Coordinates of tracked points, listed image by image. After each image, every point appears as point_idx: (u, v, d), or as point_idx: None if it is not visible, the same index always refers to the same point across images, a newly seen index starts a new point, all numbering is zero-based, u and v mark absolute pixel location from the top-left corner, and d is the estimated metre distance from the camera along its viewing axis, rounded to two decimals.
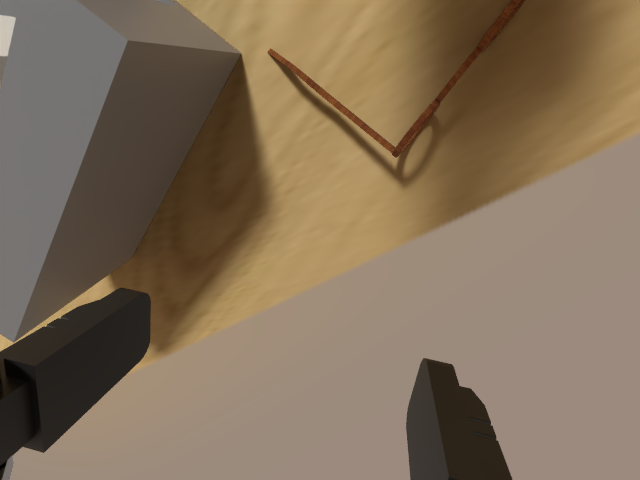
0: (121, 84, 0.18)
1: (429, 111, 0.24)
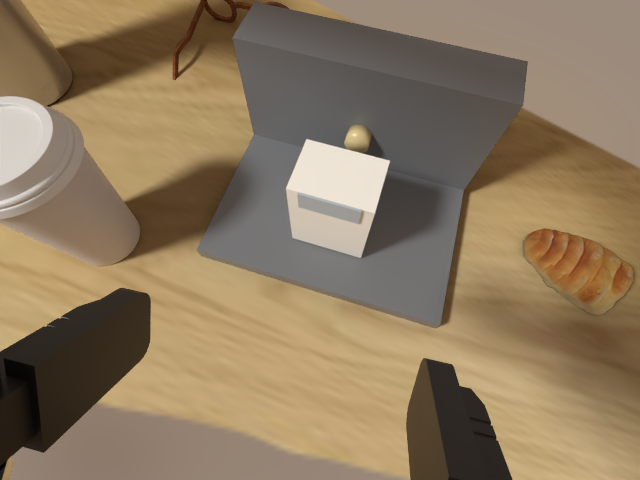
0: None
1: (265, 3, 0.47)
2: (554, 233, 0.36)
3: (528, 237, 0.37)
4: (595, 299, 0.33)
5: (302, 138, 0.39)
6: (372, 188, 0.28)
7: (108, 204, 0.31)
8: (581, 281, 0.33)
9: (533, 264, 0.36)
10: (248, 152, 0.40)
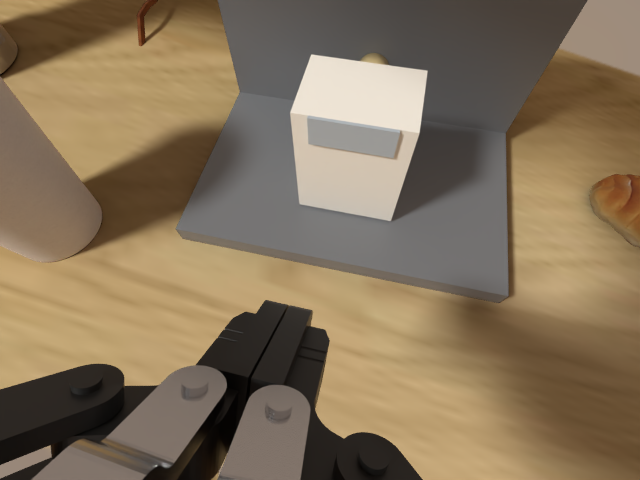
0: None
1: None
2: (630, 177, 0.28)
3: (597, 187, 0.29)
4: None
5: None
6: (410, 103, 0.20)
7: (47, 166, 0.23)
8: None
9: (611, 219, 0.28)
10: (234, 111, 0.33)
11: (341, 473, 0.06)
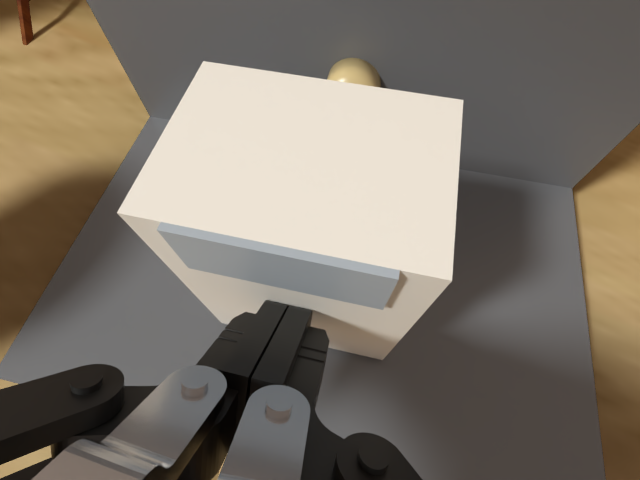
0: None
1: None
2: None
3: None
4: None
5: None
6: (425, 187, 0.08)
7: None
8: None
9: None
10: (136, 149, 0.20)
11: (341, 473, 0.06)
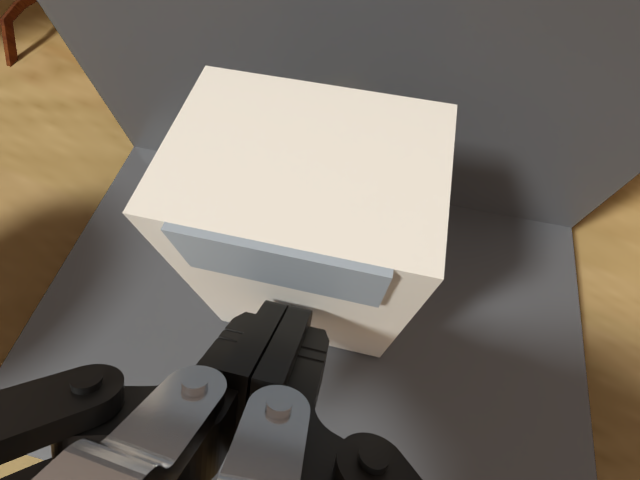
0: None
1: None
2: None
3: None
4: None
5: None
6: (419, 189, 0.08)
7: None
8: None
9: None
10: (119, 182, 0.20)
11: (341, 473, 0.06)
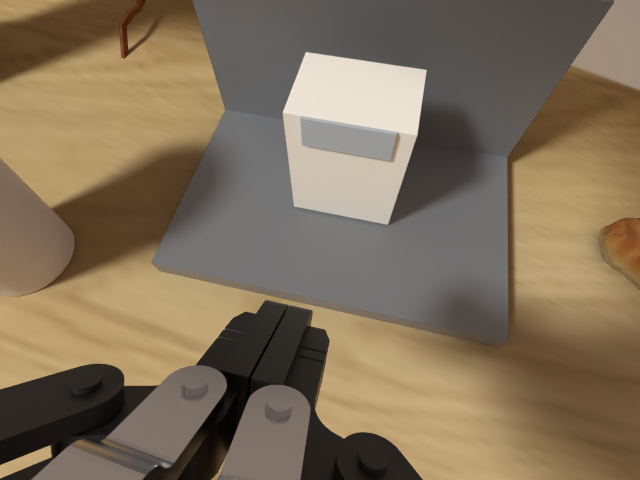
0: None
1: None
2: None
3: (607, 233, 0.26)
4: None
5: None
6: (408, 104, 0.19)
7: (5, 201, 0.21)
8: None
9: (624, 270, 0.25)
10: (219, 131, 0.31)
11: (341, 473, 0.06)
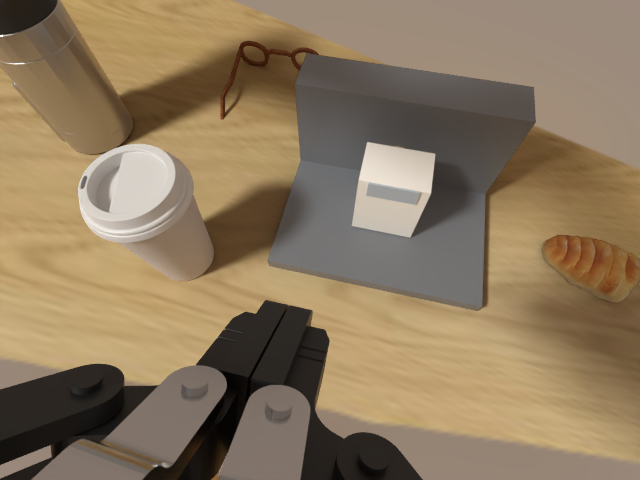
0: None
1: (295, 49, 0.55)
2: (567, 238, 0.42)
3: (546, 245, 0.42)
4: (614, 290, 0.39)
5: (344, 160, 0.46)
6: (425, 175, 0.35)
7: (201, 226, 0.37)
8: (600, 276, 0.39)
9: (555, 267, 0.41)
10: (298, 175, 0.47)
11: (341, 473, 0.06)
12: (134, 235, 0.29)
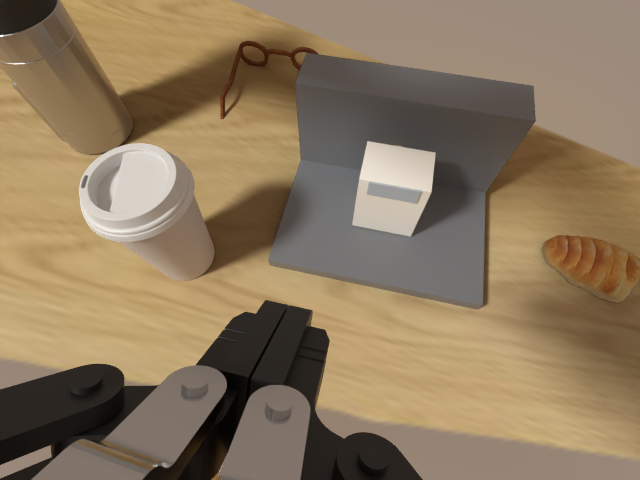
0: None
1: (295, 49, 0.55)
2: (567, 238, 0.42)
3: (546, 245, 0.42)
4: (615, 290, 0.39)
5: (345, 159, 0.46)
6: (426, 173, 0.36)
7: (201, 225, 0.37)
8: (601, 276, 0.39)
9: (556, 268, 0.41)
10: (298, 174, 0.47)
11: (341, 473, 0.06)
12: (135, 234, 0.29)
